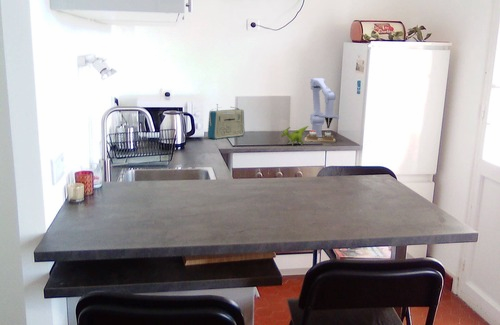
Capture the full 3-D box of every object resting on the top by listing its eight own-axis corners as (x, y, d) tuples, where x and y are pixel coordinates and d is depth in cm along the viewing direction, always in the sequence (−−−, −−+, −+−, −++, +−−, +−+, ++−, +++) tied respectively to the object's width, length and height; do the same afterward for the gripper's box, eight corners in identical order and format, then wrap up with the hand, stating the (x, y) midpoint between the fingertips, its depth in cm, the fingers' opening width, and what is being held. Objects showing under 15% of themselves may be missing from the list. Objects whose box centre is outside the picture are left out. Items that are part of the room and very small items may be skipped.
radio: (213, 139, 344) (213, 105, 339) (207, 138, 350) (207, 104, 345) (245, 136, 364) (245, 103, 358) (238, 134, 369) (239, 102, 364)
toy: (285, 150, 337) (277, 132, 331) (309, 134, 342) (301, 116, 336) (291, 152, 329) (282, 134, 323) (315, 135, 335) (307, 117, 329)
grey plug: (324, 135, 352) (325, 130, 351) (330, 136, 352) (331, 131, 351) (324, 136, 348) (324, 131, 347) (330, 137, 347) (331, 132, 346)
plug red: (309, 135, 354) (309, 130, 353) (315, 135, 353) (315, 130, 352) (309, 136, 350) (309, 131, 349) (315, 136, 349) (315, 131, 348)
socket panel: (305, 138, 359) (305, 133, 358) (335, 139, 355) (335, 135, 355) (304, 141, 347) (304, 136, 347) (335, 142, 344) (335, 137, 343)
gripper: (319, 109, 343) (318, 128, 346) (339, 110, 340) (338, 129, 343) (319, 108, 349) (318, 127, 352) (339, 109, 347) (338, 127, 350)
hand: (328, 128), depth 348 cm, fingers closed
